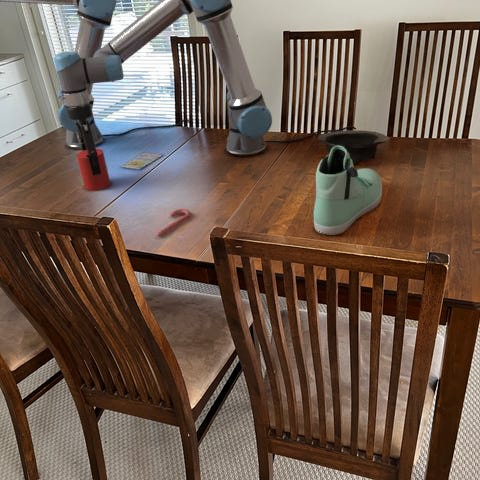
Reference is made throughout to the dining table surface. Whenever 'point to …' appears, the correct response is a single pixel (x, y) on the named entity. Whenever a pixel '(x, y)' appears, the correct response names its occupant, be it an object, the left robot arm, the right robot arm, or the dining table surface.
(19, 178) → the dining table surface
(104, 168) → the can
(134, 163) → the baking ingredient package
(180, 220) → the candy cane
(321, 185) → the sneaker
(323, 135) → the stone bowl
